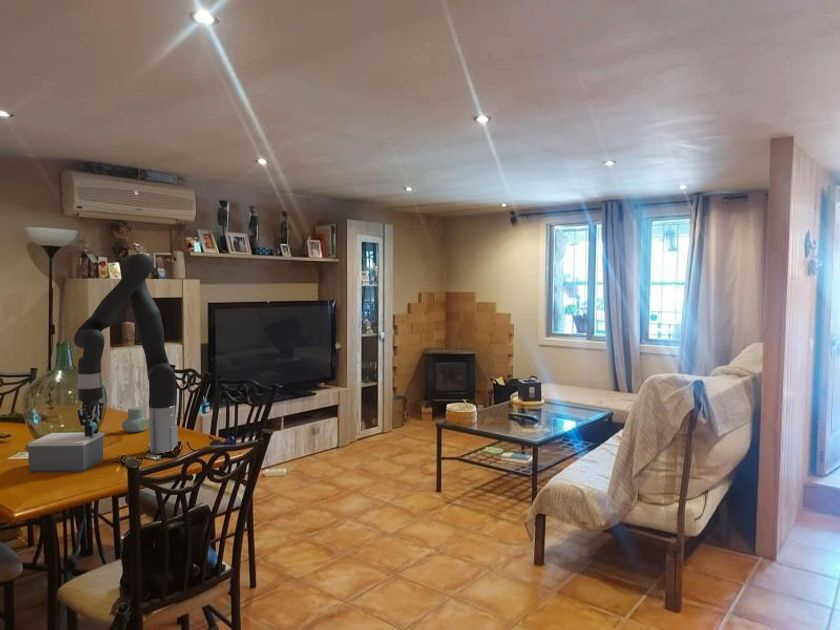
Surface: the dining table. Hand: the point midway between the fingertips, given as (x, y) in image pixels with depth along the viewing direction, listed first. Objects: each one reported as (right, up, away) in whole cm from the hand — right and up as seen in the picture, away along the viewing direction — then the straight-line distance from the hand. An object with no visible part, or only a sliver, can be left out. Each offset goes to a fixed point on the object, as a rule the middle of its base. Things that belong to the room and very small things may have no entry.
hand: (91, 434), depth 209 cm
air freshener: (-9, -9, +51) cm, 53 cm away
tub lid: (-8, -2, 0) cm, 8 cm away
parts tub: (-9, -11, 0) cm, 14 cm away
